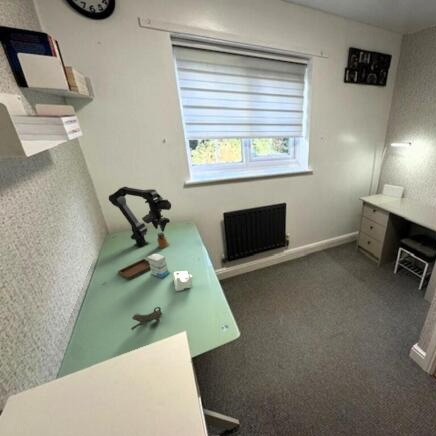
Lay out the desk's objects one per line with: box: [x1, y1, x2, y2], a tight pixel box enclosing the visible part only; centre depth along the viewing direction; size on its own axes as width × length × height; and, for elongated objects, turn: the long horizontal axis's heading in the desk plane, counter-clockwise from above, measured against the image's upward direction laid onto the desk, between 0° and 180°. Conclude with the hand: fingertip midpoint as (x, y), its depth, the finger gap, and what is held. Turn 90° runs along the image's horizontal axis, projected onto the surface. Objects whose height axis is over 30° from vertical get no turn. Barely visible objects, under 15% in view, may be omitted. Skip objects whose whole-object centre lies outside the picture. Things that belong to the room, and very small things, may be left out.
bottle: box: [157, 235, 169, 249], centre depth 164 cm, size 6×6×9 cm
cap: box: [156, 232, 165, 239], centre depth 162 cm, size 4×4×2 cm
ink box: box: [147, 253, 169, 279], centre depth 135 cm, size 8×5×12 cm, turn 65°
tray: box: [117, 258, 151, 281], centre depth 140 cm, size 11×15×2 cm
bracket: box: [172, 270, 193, 292], centre depth 129 cm, size 13×7×8 cm, turn 31°
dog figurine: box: [130, 306, 163, 331], centre depth 103 cm, size 12×6×7 cm, turn 114°
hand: (159, 230), depth 161 cm, fingers open, 7 cm apart
